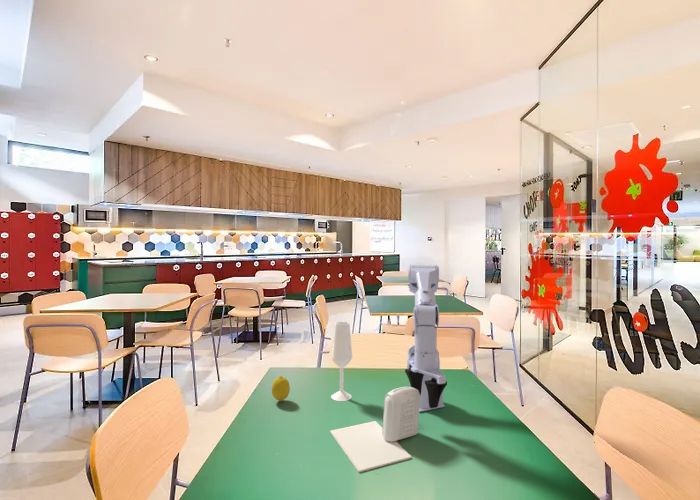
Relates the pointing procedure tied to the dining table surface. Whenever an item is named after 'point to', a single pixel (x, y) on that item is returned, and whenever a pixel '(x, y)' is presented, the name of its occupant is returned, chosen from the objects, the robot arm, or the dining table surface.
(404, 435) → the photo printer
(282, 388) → the lemon
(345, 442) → the mat
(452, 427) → the dining table surface
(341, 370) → the champagne flute
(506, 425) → the dining table surface
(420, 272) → the robot arm
